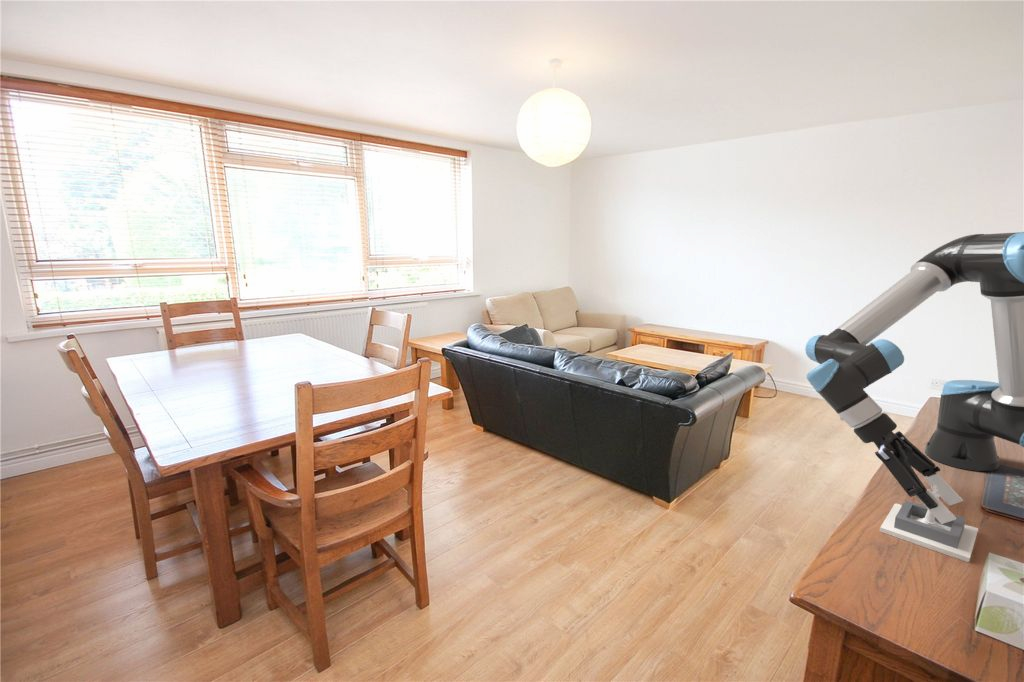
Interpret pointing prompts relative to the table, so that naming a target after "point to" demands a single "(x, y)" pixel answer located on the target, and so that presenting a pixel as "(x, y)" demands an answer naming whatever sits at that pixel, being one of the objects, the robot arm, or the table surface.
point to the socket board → (930, 531)
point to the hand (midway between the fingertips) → (952, 511)
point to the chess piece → (929, 516)
